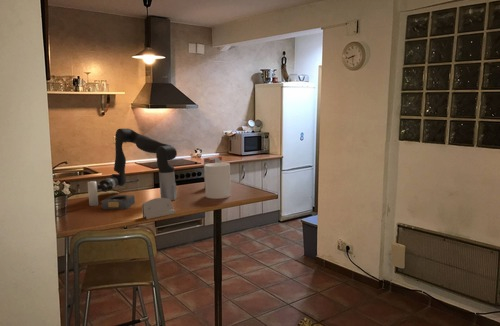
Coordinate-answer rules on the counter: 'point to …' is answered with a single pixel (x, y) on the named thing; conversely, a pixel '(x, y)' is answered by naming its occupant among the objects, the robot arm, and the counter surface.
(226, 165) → the canister
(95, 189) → the peg
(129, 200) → the socket block
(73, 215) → the counter surface
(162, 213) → the hinge
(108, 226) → the counter surface
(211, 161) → the cracker box
